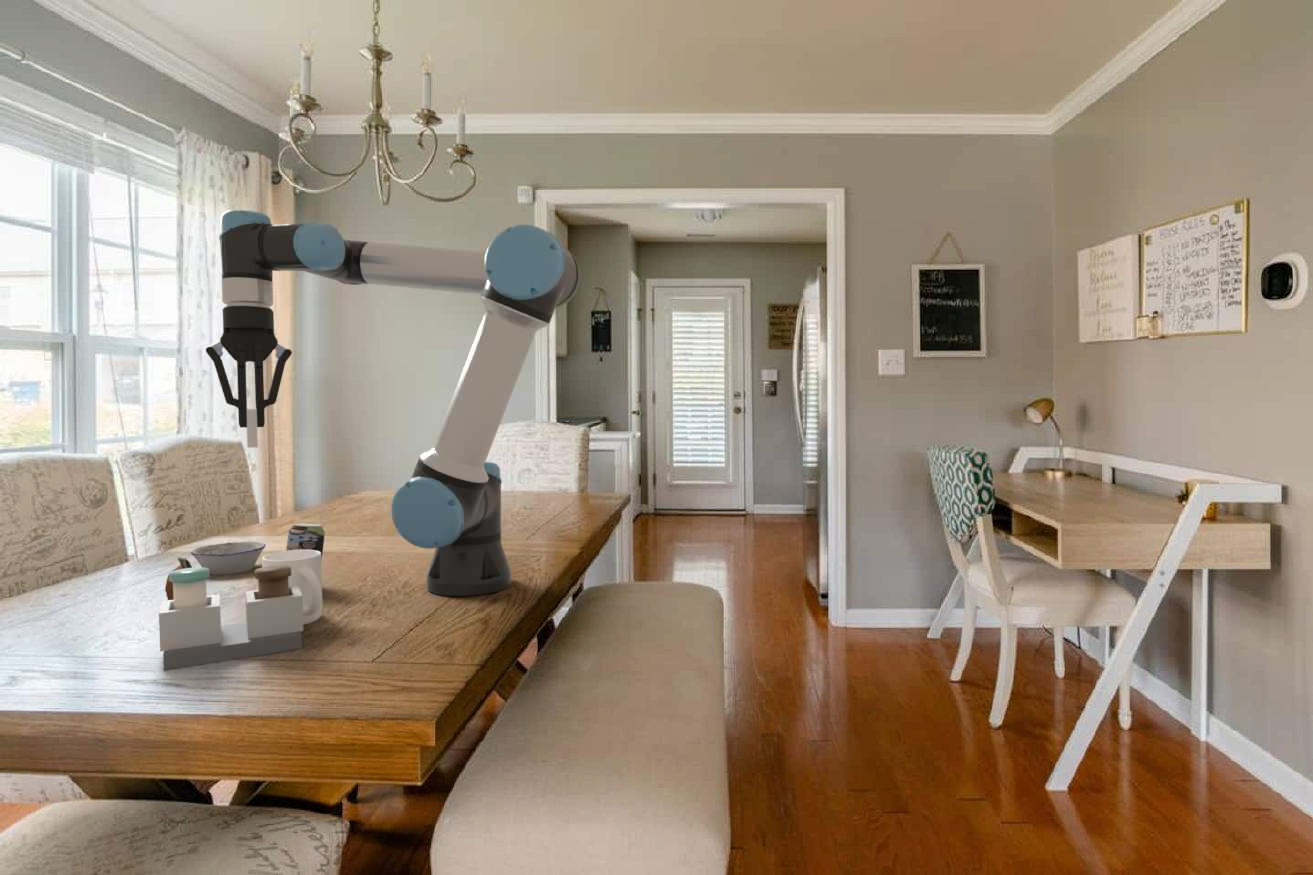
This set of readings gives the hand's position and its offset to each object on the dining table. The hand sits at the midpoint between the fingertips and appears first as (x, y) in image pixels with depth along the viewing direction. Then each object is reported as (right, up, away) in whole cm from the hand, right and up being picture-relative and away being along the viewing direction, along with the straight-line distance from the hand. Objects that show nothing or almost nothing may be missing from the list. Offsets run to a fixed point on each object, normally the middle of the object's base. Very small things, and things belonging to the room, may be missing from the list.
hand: (252, 446), depth 126 cm
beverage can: (+4, -26, +9) cm, 28 cm away
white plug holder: (+10, -28, -23) cm, 37 cm away
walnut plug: (+14, -25, -20) cm, 35 cm away
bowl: (-17, -25, +24) cm, 39 cm away
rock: (-8, -27, -3) cm, 28 cm away
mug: (+13, -27, -11) cm, 32 cm away
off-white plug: (+6, -25, -25) cm, 36 cm away
